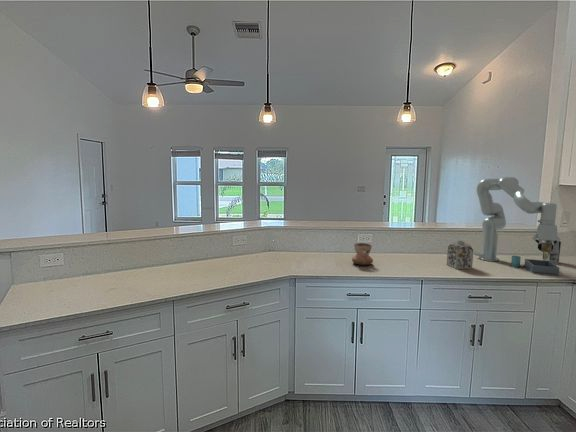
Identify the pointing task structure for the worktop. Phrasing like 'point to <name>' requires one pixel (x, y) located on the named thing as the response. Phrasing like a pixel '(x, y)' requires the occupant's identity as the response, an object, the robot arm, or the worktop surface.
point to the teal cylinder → (515, 261)
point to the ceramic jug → (362, 254)
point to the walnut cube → (546, 247)
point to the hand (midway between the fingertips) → (545, 249)
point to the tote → (541, 267)
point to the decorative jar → (460, 255)
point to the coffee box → (552, 253)
